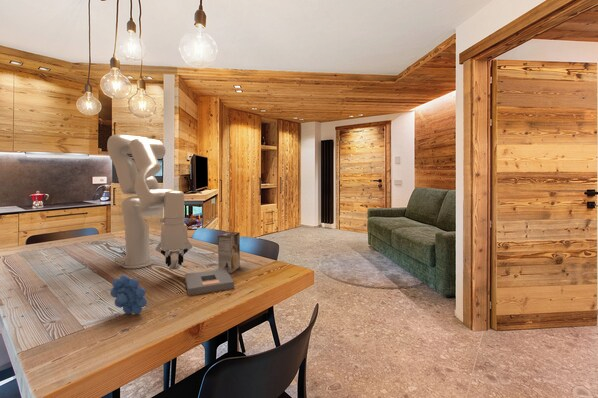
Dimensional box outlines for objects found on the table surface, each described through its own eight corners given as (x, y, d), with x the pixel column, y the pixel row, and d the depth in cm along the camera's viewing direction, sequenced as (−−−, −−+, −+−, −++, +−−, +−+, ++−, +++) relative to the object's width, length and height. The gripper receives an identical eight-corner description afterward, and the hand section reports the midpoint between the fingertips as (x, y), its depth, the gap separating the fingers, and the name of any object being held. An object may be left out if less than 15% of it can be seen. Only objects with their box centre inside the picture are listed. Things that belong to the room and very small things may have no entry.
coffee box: (227, 265, 134) (227, 231, 133) (240, 266, 133) (240, 232, 131) (218, 272, 125) (217, 235, 124) (231, 273, 124) (231, 236, 122)
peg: (169, 269, 116) (169, 253, 115) (169, 266, 120) (168, 250, 119) (180, 268, 118) (180, 252, 117) (179, 265, 121) (179, 249, 121)
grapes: (100, 319, 85) (98, 279, 83) (118, 308, 91) (116, 271, 90) (136, 322, 83) (134, 282, 82) (151, 311, 89) (150, 273, 88)
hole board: (188, 295, 101) (188, 288, 101) (185, 280, 115) (184, 273, 115) (234, 288, 108) (234, 281, 108) (225, 274, 122) (225, 268, 122)
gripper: (150, 224, 110) (151, 270, 112) (197, 222, 117) (196, 265, 119) (151, 220, 116) (151, 264, 118) (195, 218, 124) (195, 260, 126)
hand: (174, 264), depth 119 cm, fingers closed on peg, 4 cm apart
